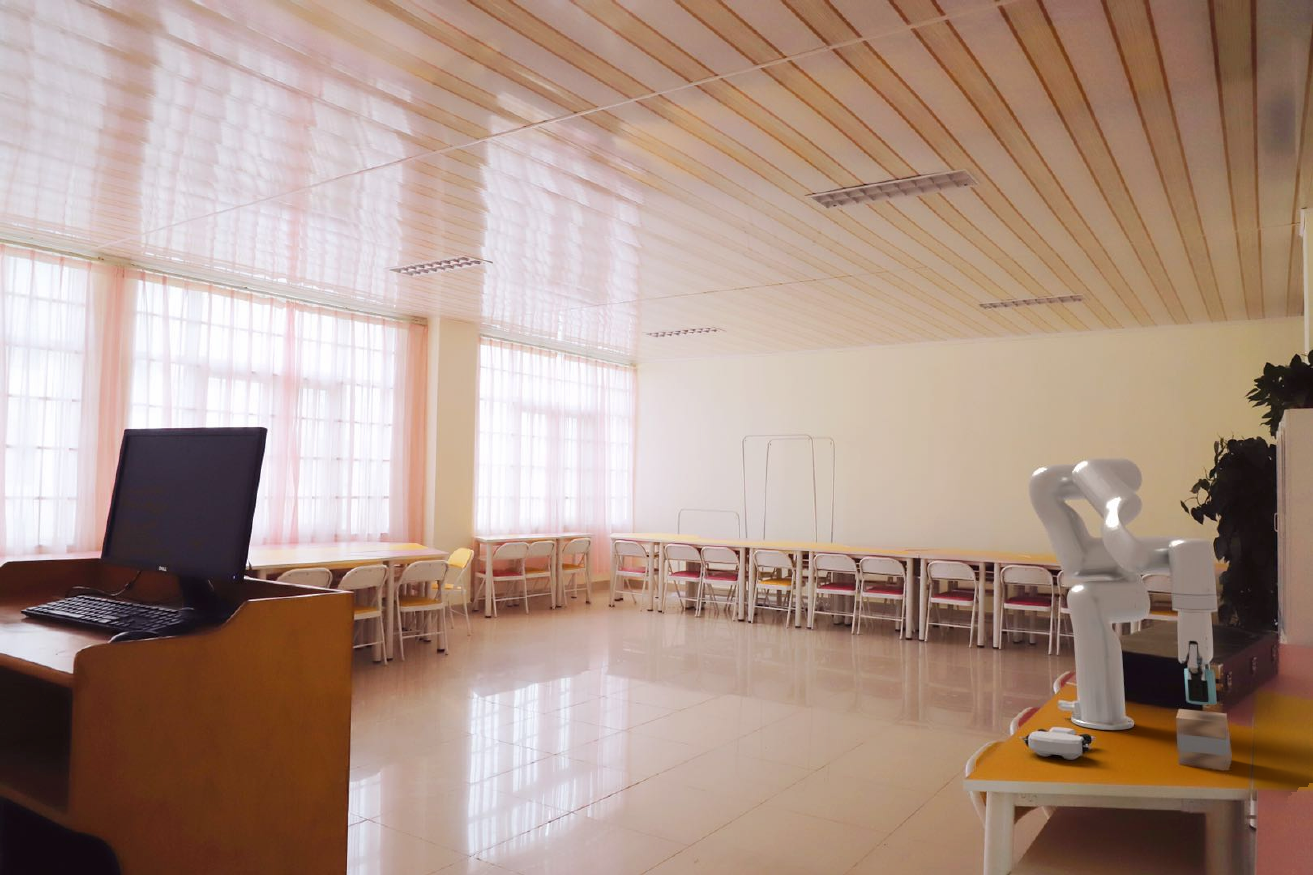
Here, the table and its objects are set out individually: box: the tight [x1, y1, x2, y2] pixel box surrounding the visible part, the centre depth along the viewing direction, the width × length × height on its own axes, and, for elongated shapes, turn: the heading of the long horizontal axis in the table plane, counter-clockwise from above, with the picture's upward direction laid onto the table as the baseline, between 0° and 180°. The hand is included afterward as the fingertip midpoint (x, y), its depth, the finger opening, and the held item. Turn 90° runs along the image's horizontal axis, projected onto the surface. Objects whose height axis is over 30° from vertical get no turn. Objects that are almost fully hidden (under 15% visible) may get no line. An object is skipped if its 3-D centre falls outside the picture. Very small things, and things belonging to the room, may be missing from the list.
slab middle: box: [1176, 729, 1231, 756], centre depth 172 cm, size 8×8×3 cm
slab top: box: [1175, 708, 1229, 739], centre depth 172 cm, size 8×8×3 cm
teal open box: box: [1183, 667, 1218, 706], centre depth 172 cm, size 5×5×6 cm
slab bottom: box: [1177, 745, 1233, 771], centre depth 171 cm, size 8×8×3 cm
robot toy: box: [1019, 726, 1096, 761], centre depth 180 cm, size 12×4×15 cm
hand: (1200, 697), depth 172 cm, fingers closed on teal open box, 4 cm apart
